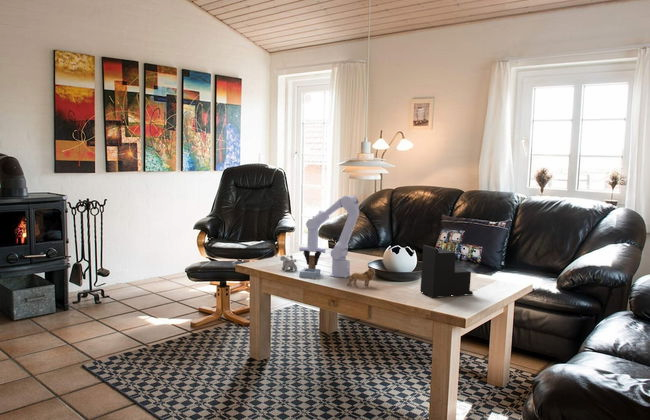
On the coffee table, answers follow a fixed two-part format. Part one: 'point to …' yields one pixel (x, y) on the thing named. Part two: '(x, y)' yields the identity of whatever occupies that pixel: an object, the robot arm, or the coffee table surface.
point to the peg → (311, 262)
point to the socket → (310, 273)
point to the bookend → (443, 274)
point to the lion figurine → (362, 277)
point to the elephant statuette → (288, 262)
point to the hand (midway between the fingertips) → (312, 264)
